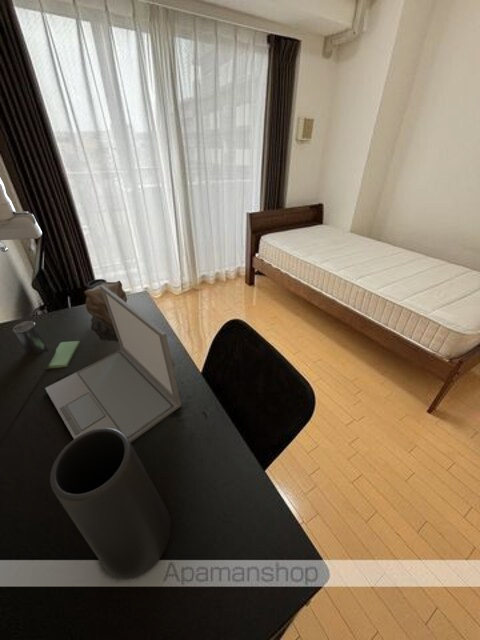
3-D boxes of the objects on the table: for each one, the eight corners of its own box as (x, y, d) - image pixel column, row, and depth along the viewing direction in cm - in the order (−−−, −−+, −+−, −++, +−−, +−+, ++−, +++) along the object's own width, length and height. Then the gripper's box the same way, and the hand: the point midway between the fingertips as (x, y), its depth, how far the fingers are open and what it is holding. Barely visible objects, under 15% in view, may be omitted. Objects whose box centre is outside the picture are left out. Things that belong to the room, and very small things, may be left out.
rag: (45, 368, 96) (44, 366, 95) (61, 343, 106) (60, 342, 106) (66, 367, 96) (65, 365, 96) (80, 342, 107) (79, 340, 106)
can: (25, 359, 100) (8, 333, 93) (34, 347, 105) (18, 321, 98) (44, 358, 100) (29, 331, 93) (52, 346, 105) (38, 320, 98)
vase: (183, 514, 60) (159, 436, 43) (141, 595, 50) (88, 534, 33) (133, 487, 65) (93, 407, 48) (84, 556, 54) (12, 486, 38)
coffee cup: (92, 318, 120) (80, 287, 111) (104, 307, 126) (94, 277, 118) (110, 320, 118) (99, 289, 109) (121, 310, 125) (112, 279, 116)
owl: (94, 340, 108) (76, 295, 96) (110, 321, 118) (95, 277, 106) (126, 342, 107) (111, 296, 95) (139, 322, 117) (127, 279, 105)
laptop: (46, 391, 88) (2, 319, 72) (125, 350, 103) (103, 284, 87) (92, 470, 68) (45, 396, 52) (182, 405, 83) (166, 332, 67)
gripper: (36, 208, 101) (51, 246, 109) (-25, 211, 100) (-5, 248, 108) (26, 213, 96) (43, 252, 104) (-38, 215, 94) (-16, 255, 102)
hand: (18, 250), depth 106 cm, fingers open, 8 cm apart
